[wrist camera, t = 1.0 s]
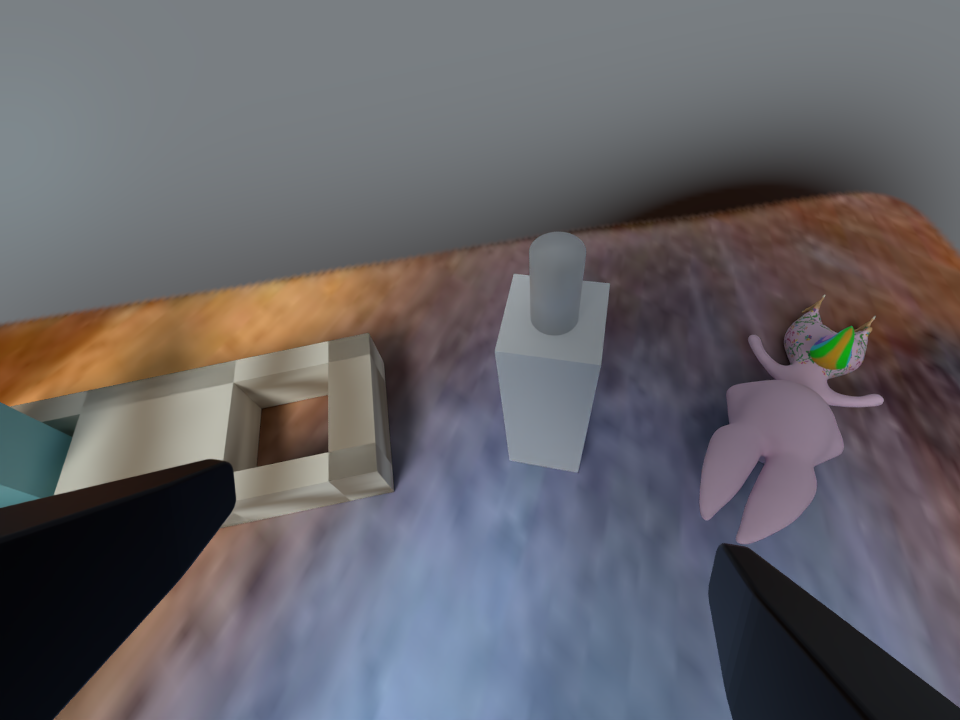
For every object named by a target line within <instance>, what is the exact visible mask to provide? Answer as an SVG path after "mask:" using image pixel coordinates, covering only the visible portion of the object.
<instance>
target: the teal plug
mask: <svg viewBox="0 0 960 720" xmlns="http://www.w3.org/2000/svg"><path fill="white" fill-rule="evenodd" d="M71 440H72V437H71V436H69V435H67V434H65V433H63V432H61V431H58V430H56V429H54V428H52V427H50V426H48V425H46V424H44V423H42V422H40V421H38V420H36V419H34V418H32V417H30V416H27V415H25V414H23V413H21V412H19V411H17V410H15V409H13V408H11V407H9V406H7V405H5V404H3V403H1V402H0V508H2V507H6V506H10V505H15V504H19V503H23V502H27V501H32V500H36V499H40V498H44V497H49V496H53V495H54V493H55V490H56V487H57V484H58V481H59V478H60V474H61V471H62V468H63V465H64V462H65V459H66V456H67V453H68V450H69V447H70V444H71Z"/></svg>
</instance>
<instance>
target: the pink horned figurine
mask: <svg viewBox="0 0 960 720" xmlns="http://www.w3.org/2000/svg"><path fill="white" fill-rule="evenodd" d="M825 295H826V294H825ZM825 295H824V296H823V297H822V298H821V300H820V301H818V302H816V303H815V304H813V305H812V306H811V307H808V308H806V309H805V311H802V313H804V312H807V313H806V314H804V315H803V316H802V317H800V318H799V319H798V320H796V321H795V322H794V323H793V324H792V325H791V326H790V327H789V328H788V330H787V332H786V334H785V337H784V347H785V350H786V353H787V356H788V358H789V361H790V363H791V364H790V365H788V366H784V365H781V364H778V363H777V362H775V361H774V360H773V359H772V358H771V357H770V356H769V355H768V354H767V353H766V351H765V350H764V348H763V345H762V342H761V339H760V338H759V337H758V336H757V335H750V336H749V338H748V342H749V345H750V346H751V348H752V350H753V352H754V354H755V355H756V357H757V359H758V360H759V361H760V363H761V364H762V365H763V367H764V368H765V369H766V370H767V372H768V373H769V374H770V375H771V376H772V377H773V378H774V379H775V380H765V381H757V382H748V383H741V384H737V385H734V386H732V387H730V388H729V389H728V390H727V393H726V398H727V407H728V417H729V424H728V425H725V426H723V427H720V428H719V429H717V430H716V431H715V433H714V434H713V436H712V437H711V439H710V442H709V445H708V449H707V452H706V455H705V458H704V462H703V468H702V474H701V484H700V495H699V507H700V513H701V516H702V518H703V519H704V520H706V521H708V520H710V519H711V518H712V517H713V516H714V515H715V514H716V513H717V512H718V511H719V510H720V509H721V508H722V507H723V506H724V505H725V504H726V503H728V502H729V501H730V500H731V499H732V498H733V497H734V496H735V494H736V493H737V492H738V491H739V490H740V488H741V487H742V486H743V484H744V482H745V481H746V479H747V478H748V476H749V475H750V473H751V471H752V470H753V468H754V467H755V465H756V464H757V462H758V461H760V462H762V463H764V464H765V465H764V466H763V468H762V470H761V472H760V474H759V476H758V478H757V480H756V482H755V484H754V486H753V489H752V491H751V493H750V495H749V498H748V500H747V503H746V505H745V508H744V512H743V516H742V520H741V524H740V527H739V530H738V533H737V535H736V541H737V542H738V543H740V544H750V543H753V542H756V541H759V540H761V539H764V538H766V537H768V536H770V535H772V534H774V533H776V532H778V531H780V530H781V529H783V528H785V527H786V526H788V525H789V524H791V523H792V522H793V521H795V520H796V519H797V518H798V517H799V516H800V515H801V514H802V513H803V511H804V510H805V509H806V508H807V507H808V506H809V504H810V503H811V502H812V500H813V498H814V496H815V493H816V490H817V479H816V475H815V472H814V466H816V465H818V464H821V463H823V462H825V461H827V460H829V459H831V458H834V457H836V456H838V455H840V454H841V453H842V451H843V449H844V443H843V439H842V436H841V433H840V431H839V428H838V425H837V422H836V419H835V416H834V414H833V412H832V410H831V408H830V407H829V405H832V406H843V407H869V406H878V405H881V404H882V403H883V401H884V399H883V398H882V397H881V396H880V395H877V394H869V395H866V396H861V397H855V396H847V395H842V394H839V393H836V392H834V391H833V390H831V389H830V387H829V386H828V384H827V380H828V379H830V378H834V377H838V376H842V375H845V374H848V373H850V372H852V371H854V370H856V369H857V368H858V367H859V366H860V365H861V364H862V362H863V360H864V356H865V352H866V347H867V342H868V335H869V334H870V332H871V331H872V328H871V327H870V325H871V323H872V321H873V320H874V319H875V317H876V316H874V317H873V318H872V319H871V320H870V321H869V322H867V323H865V324H864V325H863V326H861V327H859V328H858V329H855V330H854V329H853V326H850V327H847V328H845V329H843V330H842V331H840V332H839V333H836V332H834V331H832V330H831V329H829V328H828V327H826V326H825V325H823V324H822V321H821V318H820V314H819V312H818V311H819V309H820V305H821V302H822V300H823V299H824V297H825Z"/></svg>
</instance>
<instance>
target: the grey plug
mask: <svg viewBox="0 0 960 720" xmlns="http://www.w3.org/2000/svg"><path fill="white" fill-rule="evenodd" d="M585 258H586V248H585V245H584V243H583V242H582V241H581V240H580V239H579V238H578V237H576V236H575V235H572V234H570V233H566V232H550V233H546V234H544V235H542V236H540V237H538V238H537V239H535V241H534V242H533V243H532V244H531V246H530V249H529V269H530V275H520V274H514V276H513V280H512V284H511V288H510V292H509V296H508V300H507V304H506V308H505V312H504V316H503V320H502V324H501V328H500V332H499V336H498V340H497V344H496V348H495V357H496V364H497V371H498V379H499V386H500V393H501V401H502V408H503V415H504V423H505V430H506V437H507V445H508V452H509V459H510V461H515V462H520V463H526V464H532V465H537V466H543V467H548V468H554V469H559V470H565V471H570V472H576V473H578V470H579V466H580V461H581V456H582V452H583V447H584V442H585V438H586V433H587V429H588V424H589V419H590V415H591V410H592V405H593V401H594V396H595V391H596V387H597V382H598V378H599V373H600V368H601V362H602V353H603V344H604V334H605V325H606V316H607V307H608V297H609V288H610V283H601V282H591V281H583V275H584V267H585Z"/></svg>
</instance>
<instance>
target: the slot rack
mask: <svg viewBox="0 0 960 720" xmlns="http://www.w3.org/2000/svg"><path fill="white" fill-rule="evenodd" d="M325 395H328V452H327V453H323V454H318V455H313V456H308V457H303V458H299V459H294V460H289V461H284V462H279V463H275V464H270V465H265V466H260V467H257V455H258V444H259V432H260V421H261V409H262V408H267V407H272V406H276V405H281V404H286V403H291V402H296V401H301V400H305V399H310V398H315V397H320V396H325ZM11 408H13V409H15V410H17V411H19V412H21V413H23V414H25V415H27V416H30V417H32V418H34V419H36V420H38V421H40V422H42V423H44V424H46V425H48V426H50V427H52V428H54V429H56V430H58V431H61V432H63V433H65V434H67V435H69V436H71V437H72V440H71V444H70V447H69V450H68V453H67V456H66V459H65V462H64V465H63V468H62V471H61V474H60V478H59V481H58V484H57V487H56V490H55V493H54V495H57V494H61V493H66V492H70V491H74V490H78V489H83V488H87V487H91V486H95V485H100V484H104V483H108V482H112V481H117V480H121V479H125V478H129V477H134V476H138V475H142V474H146V473H151V472H155V471H159V470H163V469H168V468H172V467H176V466H180V465H185V464H189V463H193V462H197V461H202V460H206V459H217V460H223V461H227V462H229V463H231V465H232V467H233V470H234V480H235V490H236V504H235V507H234V509H233V511H232V513H231V514H230V515H229V517H228V518H227V519H226V521H225V522H224V523H223V525H222V526H221V527H220V528H223V527H228V526H233V525H238V524H243V523H247V522H252V521H257V520H262V519H266V518H271V517H276V516H281V515H285V514H290V513H295V512H300V511H305V510H309V509H314V508H319V507H324V506H328V505H333V504H338V503H343V502H347V501H352V500H357V499H362V498H367V497H371V496H376V495H381V494H386V493H390V492H394V483H393V471H392V458H391V445H390V433H389V420H388V407H387V395H386V382H385V370H384V362H383V360H382V358H381V356H380V354H379V352H378V350H377V348H376V346H375V344H374V342H373V340H372V338H371V336H370V334H369V333H366V334H361V335H356V336H352V337H347V338H342V339H337V340H332V341H327V342H322V343H318V344H313V345H308V346H303V347H298V348H293V349H288V350H283V351H279V352H274V353H269V354H264V355H259V356H254V357H249V358H245V359H240V360H235V361H230V362H225V363H220V364H215V365H210V366H206V367H201V368H196V369H191V370H186V371H181V372H176V373H172V374H167V375H162V376H157V377H152V378H147V379H142V380H138V381H133V382H128V383H123V384H118V385H113V386H108V387H103V388H99V389H94V390H89V391H84V392H79V393H74V394H69V395H65V396H60V397H55V398H50V399H45V400H40V401H35V402H30V403H26V404H21V405H16V406H11Z"/></svg>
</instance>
